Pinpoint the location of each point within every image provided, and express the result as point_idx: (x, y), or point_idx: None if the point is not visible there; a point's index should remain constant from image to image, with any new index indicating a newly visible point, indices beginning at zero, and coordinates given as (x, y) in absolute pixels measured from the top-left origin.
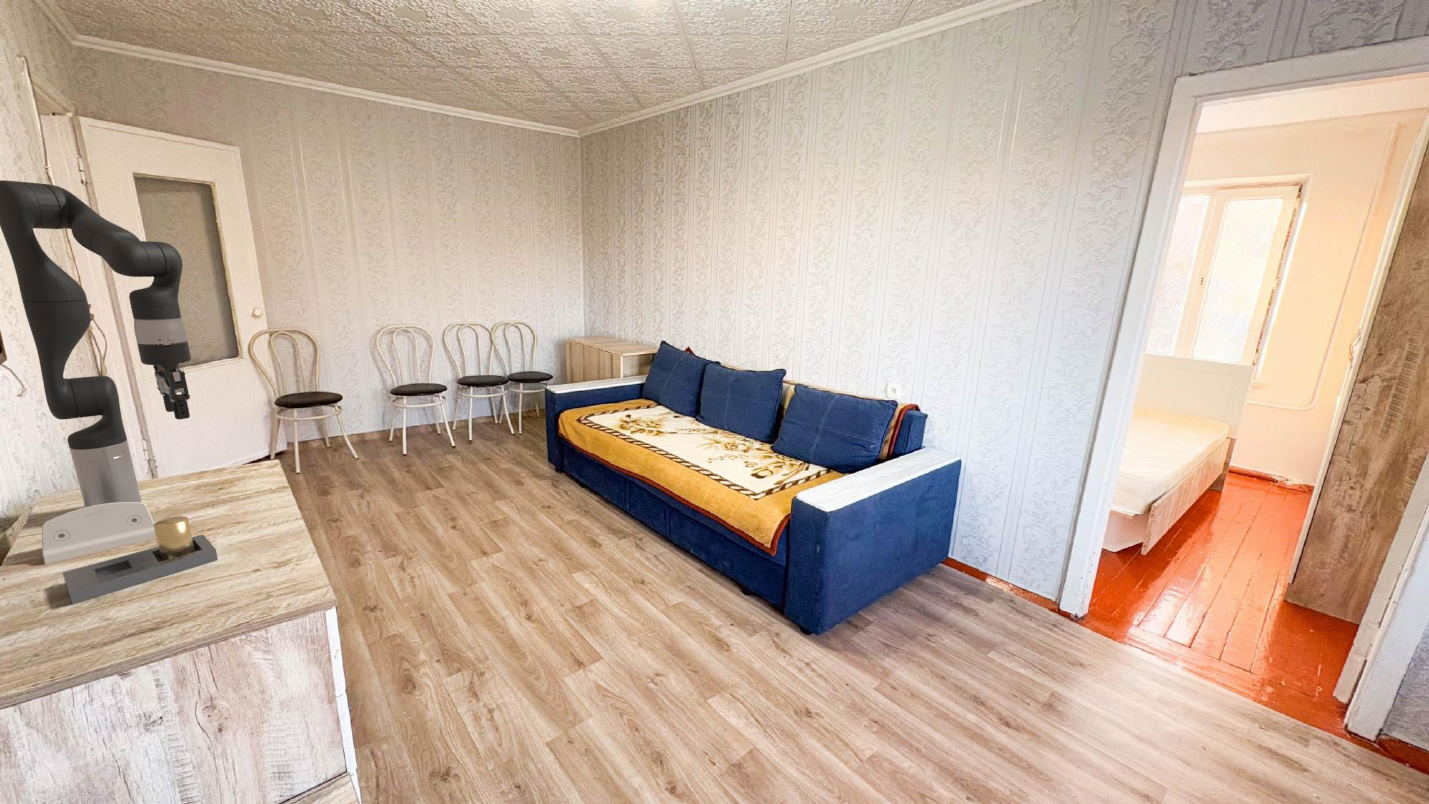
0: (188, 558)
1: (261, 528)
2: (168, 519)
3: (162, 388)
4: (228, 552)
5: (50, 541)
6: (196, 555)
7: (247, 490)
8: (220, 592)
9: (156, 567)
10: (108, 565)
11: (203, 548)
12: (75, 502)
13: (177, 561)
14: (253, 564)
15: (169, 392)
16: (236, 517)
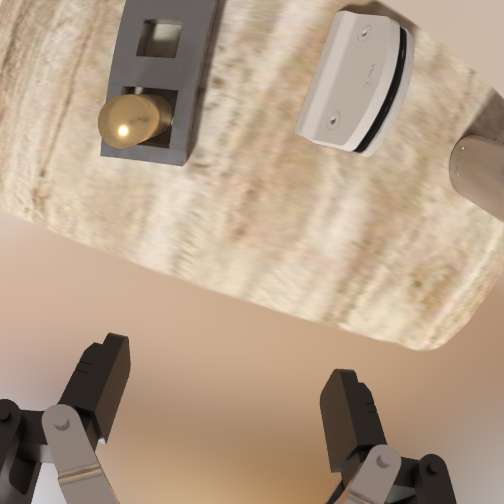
0: None
1: (178, 239)
2: (139, 122)
3: (343, 496)
4: (124, 171)
5: (364, 21)
6: None
7: (373, 301)
8: (22, 125)
9: (109, 80)
10: (180, 36)
11: None
12: None
13: None
14: (60, 176)
15: (59, 468)
16: (267, 240)
